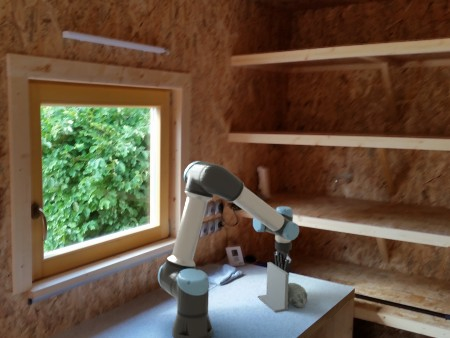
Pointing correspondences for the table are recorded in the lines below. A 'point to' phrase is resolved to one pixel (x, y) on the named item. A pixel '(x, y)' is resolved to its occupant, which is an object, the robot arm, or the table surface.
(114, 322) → the table surface
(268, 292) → the grey screen
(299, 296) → the grey streaked ovoid
